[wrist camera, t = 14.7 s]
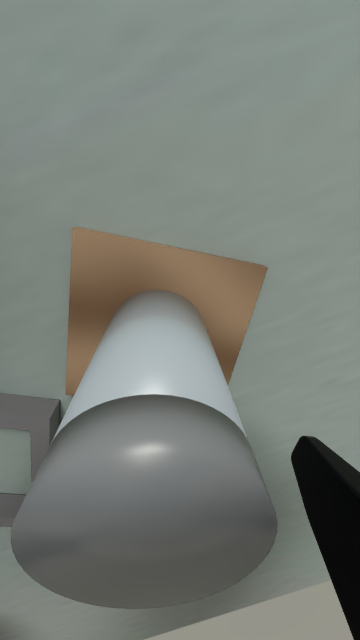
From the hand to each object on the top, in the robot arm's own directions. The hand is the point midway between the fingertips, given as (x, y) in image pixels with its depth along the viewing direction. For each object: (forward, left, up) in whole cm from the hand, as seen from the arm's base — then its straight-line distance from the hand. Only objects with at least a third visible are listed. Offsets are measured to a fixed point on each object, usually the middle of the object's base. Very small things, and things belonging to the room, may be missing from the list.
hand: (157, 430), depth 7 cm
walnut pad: (0, 0, -7) cm, 7 cm away
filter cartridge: (0, 0, -6) cm, 6 cm away
